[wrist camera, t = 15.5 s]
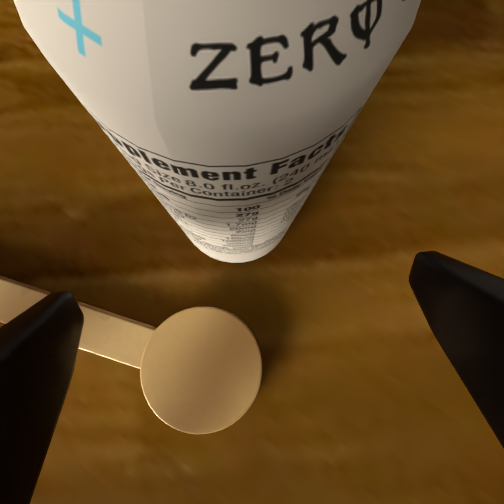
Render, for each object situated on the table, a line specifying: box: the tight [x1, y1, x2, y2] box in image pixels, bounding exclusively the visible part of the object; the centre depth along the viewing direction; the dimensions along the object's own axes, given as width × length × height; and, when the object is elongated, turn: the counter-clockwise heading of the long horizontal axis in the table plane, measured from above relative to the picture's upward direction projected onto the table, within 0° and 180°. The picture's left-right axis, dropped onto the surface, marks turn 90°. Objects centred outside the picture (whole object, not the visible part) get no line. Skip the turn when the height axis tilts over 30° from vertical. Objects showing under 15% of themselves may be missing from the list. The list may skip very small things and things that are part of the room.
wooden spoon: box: [0, 276, 262, 434], centre depth 16 cm, size 20×6×1 cm, turn 72°
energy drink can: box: [14, 0, 421, 263], centre depth 10 cm, size 6×6×15 cm
